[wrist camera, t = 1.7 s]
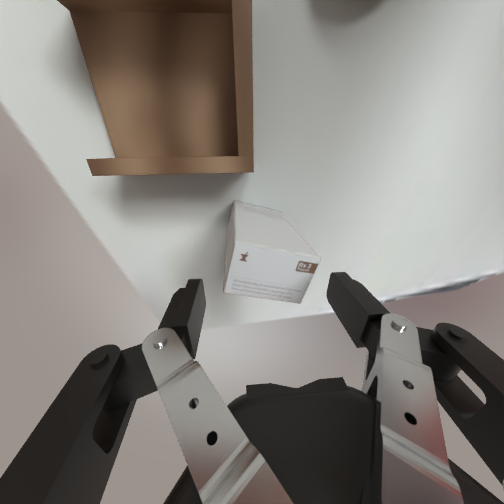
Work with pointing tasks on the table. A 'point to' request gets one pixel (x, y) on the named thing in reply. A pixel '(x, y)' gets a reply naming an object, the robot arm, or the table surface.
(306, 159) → the table surface
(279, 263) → the skincare box
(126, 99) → the u rest
